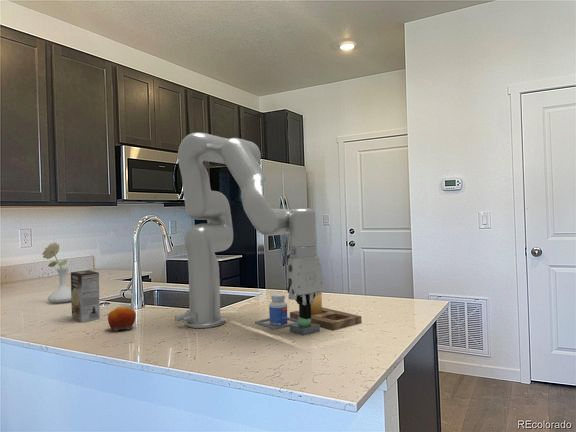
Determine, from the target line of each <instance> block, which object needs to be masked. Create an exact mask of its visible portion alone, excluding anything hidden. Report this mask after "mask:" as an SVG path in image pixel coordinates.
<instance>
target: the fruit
mask: <svg viewBox="0 0 576 432" xmlns="http://www.w3.org/2000/svg"><path fill="white" fill-rule="evenodd" d="M136 317H137V313H136V311H135V309H133V308H132V307H128V306H118V307H116V308H114V309H112V310H111V311H110V312H108V313H107V322H108V325H109V328H110V329H111V330H112V331H115V332H118V331H122V330H129V331H131V329H130V328H132V327H133V325H134V324H135V321H136Z"/></svg>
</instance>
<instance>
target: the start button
mask: <svg viewBox="0 0 576 432" xmlns="http://www.w3.org/2000/svg"><path fill="white" fill-rule="evenodd" d="M298 325H299V326H310V325H311V319H310V318H309V319H304V318H300V317H298Z"/></svg>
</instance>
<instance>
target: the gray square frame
mask: <svg viewBox="0 0 576 432" xmlns="http://www.w3.org/2000/svg"><path fill="white" fill-rule="evenodd" d="M287 321H289V322H290V323H287V324H286V325H282V326H273V325H270V324H268V323H267V322H270V317H268V318H264V319H259V320H255V321H254V323H255V324H256V325H259V326H262V327H265V328H269V329H271V330H274V331H276V330H277V331H278V330H279V329H285V328H290V326H289V325H290V324H294V323H298V320H296V319H292V318H290V316H289V317H288V316H287ZM265 322H266V323H265Z"/></svg>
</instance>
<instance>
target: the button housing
mask: <svg viewBox="0 0 576 432" xmlns="http://www.w3.org/2000/svg"><path fill="white" fill-rule="evenodd" d="M293 323H294V322H293ZM289 324H290V323H289ZM289 326H290V327H289V332H291V333H294V334H298V335H300V336H307V335H310V334H312V335H313V334H315V333H318V332H320V331H321V327H320V325H319V324H315V323H312V322H311V325H310V326H299V325H298V323H294V324H290V325H289Z"/></svg>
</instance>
